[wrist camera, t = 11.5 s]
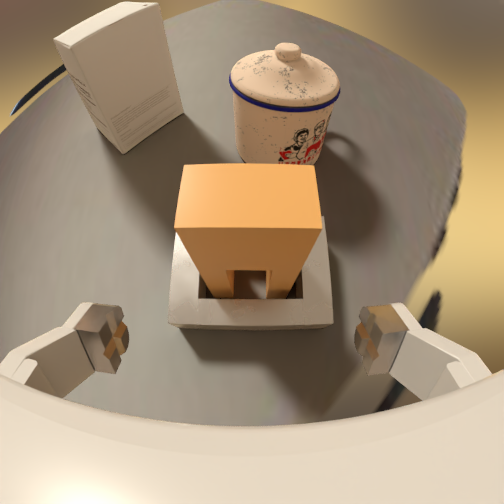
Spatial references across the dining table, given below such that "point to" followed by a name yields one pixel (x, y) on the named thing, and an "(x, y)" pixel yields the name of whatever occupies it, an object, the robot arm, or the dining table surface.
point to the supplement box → (123, 71)
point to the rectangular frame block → (252, 310)
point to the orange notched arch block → (248, 222)
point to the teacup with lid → (282, 105)
